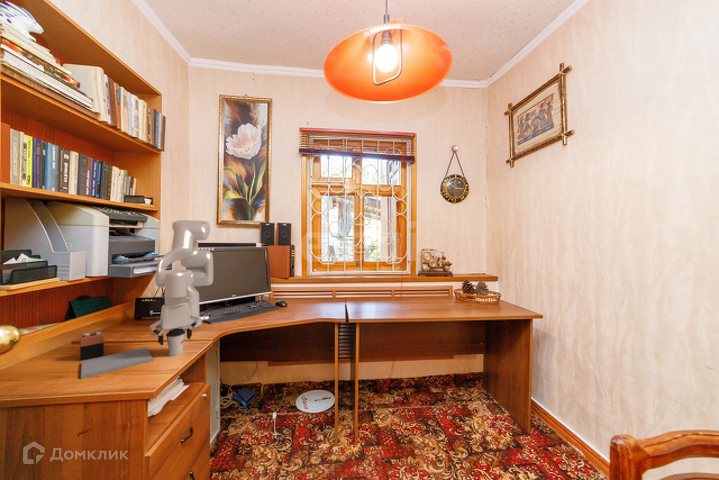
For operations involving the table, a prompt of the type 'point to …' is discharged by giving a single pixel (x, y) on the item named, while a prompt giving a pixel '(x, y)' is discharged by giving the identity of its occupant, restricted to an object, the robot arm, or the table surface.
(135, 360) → the desk mat
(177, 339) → the coffee cup
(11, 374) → the table surface
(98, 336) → the battery
